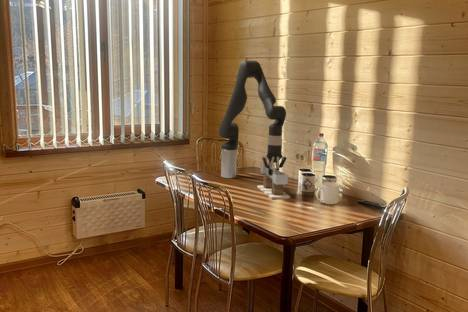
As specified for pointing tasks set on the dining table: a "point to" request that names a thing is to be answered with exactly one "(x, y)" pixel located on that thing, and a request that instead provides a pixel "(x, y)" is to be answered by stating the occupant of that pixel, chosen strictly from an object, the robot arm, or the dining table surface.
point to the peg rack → (273, 189)
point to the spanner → (275, 174)
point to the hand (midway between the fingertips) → (273, 175)
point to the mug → (328, 193)
